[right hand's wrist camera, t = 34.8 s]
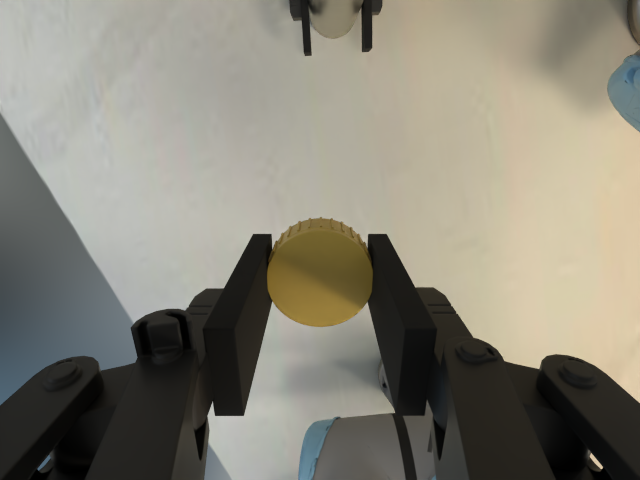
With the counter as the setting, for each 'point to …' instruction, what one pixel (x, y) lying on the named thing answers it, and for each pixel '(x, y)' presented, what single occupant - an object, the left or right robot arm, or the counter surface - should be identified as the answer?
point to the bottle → (333, 16)
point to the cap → (320, 273)
